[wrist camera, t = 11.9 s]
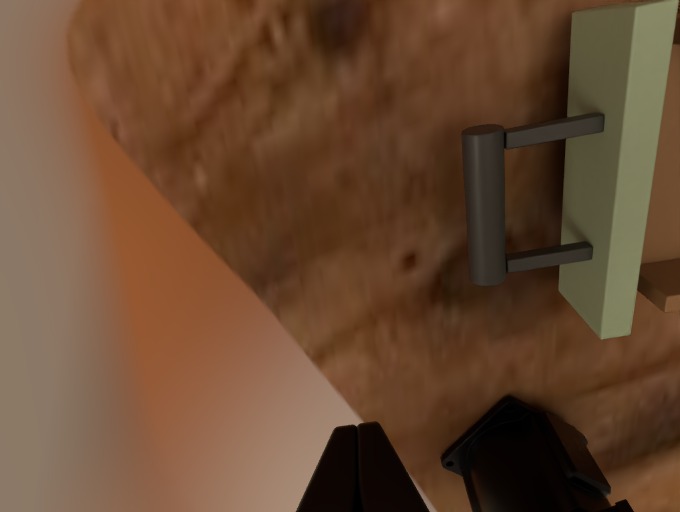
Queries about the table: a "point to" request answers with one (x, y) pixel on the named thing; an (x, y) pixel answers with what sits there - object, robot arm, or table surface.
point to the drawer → (598, 170)
